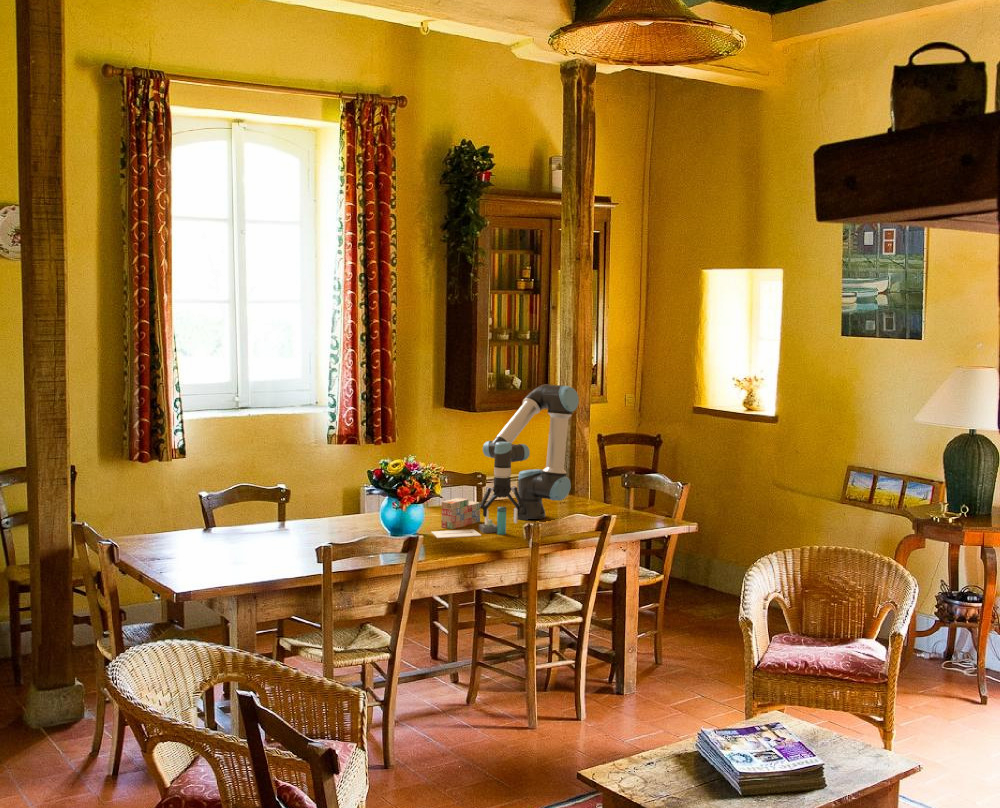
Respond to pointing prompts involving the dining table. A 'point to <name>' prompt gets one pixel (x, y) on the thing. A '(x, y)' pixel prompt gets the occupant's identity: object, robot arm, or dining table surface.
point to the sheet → (455, 533)
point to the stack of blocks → (459, 513)
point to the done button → (489, 523)
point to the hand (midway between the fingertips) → (501, 523)
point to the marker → (501, 520)
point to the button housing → (487, 528)
